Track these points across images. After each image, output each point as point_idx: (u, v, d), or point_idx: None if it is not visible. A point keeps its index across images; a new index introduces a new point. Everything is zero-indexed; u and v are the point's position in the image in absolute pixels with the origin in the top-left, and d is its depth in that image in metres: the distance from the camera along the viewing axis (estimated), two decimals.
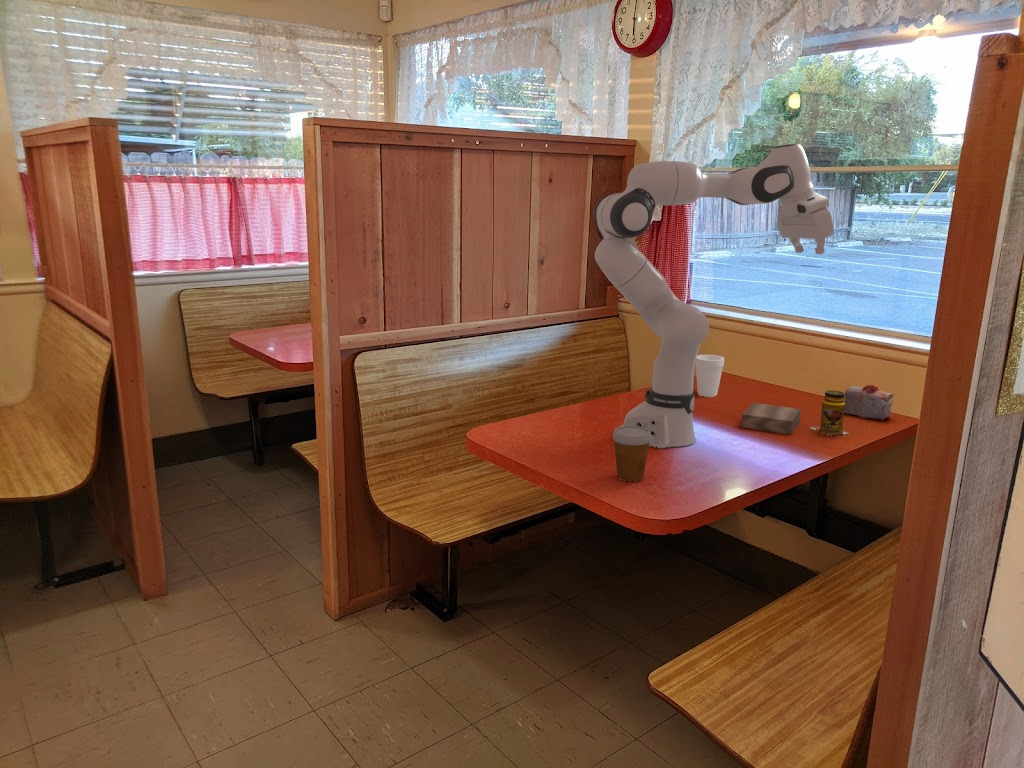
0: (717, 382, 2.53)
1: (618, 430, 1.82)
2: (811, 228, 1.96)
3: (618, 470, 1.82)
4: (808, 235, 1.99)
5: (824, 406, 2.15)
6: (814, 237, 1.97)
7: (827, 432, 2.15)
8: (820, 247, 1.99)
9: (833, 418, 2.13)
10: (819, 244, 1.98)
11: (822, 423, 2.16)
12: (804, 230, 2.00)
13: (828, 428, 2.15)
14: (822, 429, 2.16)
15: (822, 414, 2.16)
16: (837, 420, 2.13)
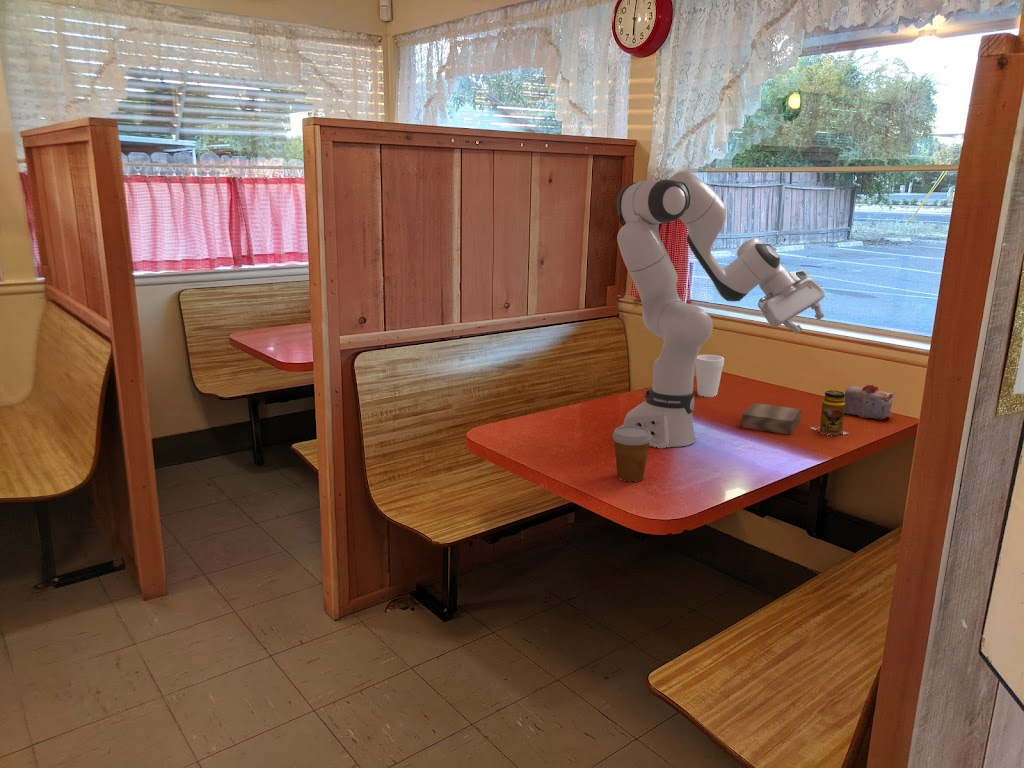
0: (717, 382, 2.53)
1: (618, 430, 1.82)
2: (811, 292, 2.16)
3: (618, 470, 1.82)
4: (810, 300, 2.14)
5: (824, 406, 2.15)
6: (817, 298, 2.15)
7: (827, 432, 2.15)
8: None
9: (833, 418, 2.13)
10: None
11: (822, 423, 2.16)
12: (805, 298, 2.14)
13: (828, 428, 2.15)
14: (822, 429, 2.16)
15: (822, 414, 2.16)
16: (837, 420, 2.13)
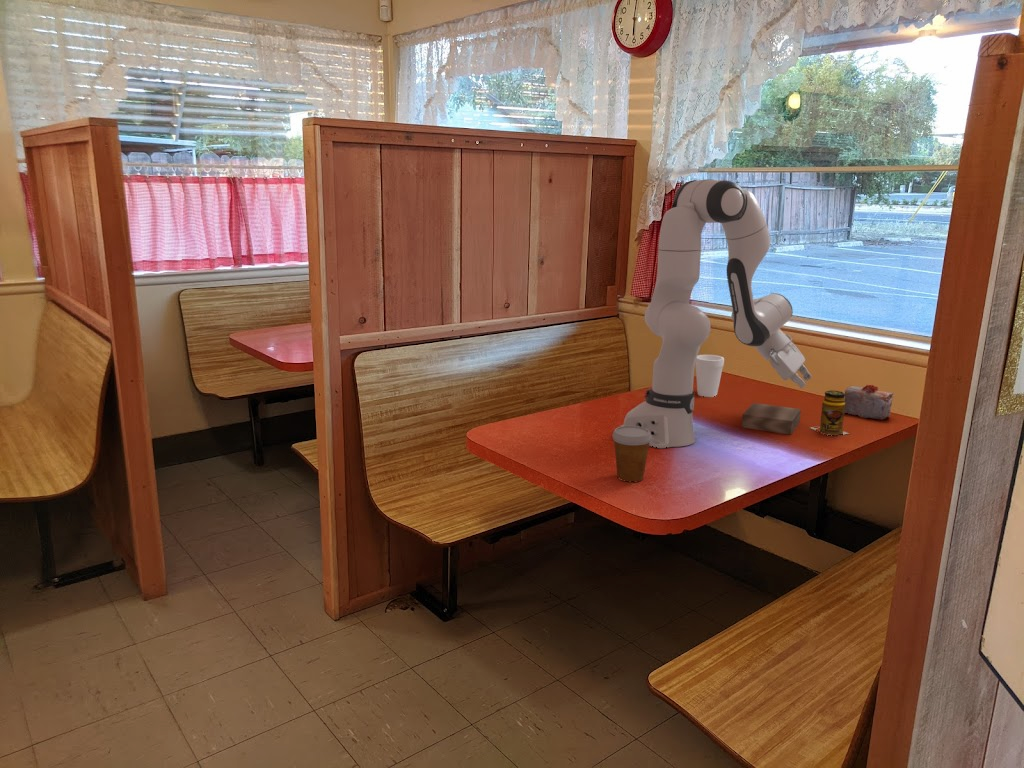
0: (717, 382, 2.53)
1: (618, 430, 1.82)
2: (797, 354, 2.24)
3: (618, 470, 1.82)
4: (801, 361, 2.22)
5: (824, 406, 2.15)
6: (803, 360, 2.24)
7: (827, 432, 2.15)
8: None
9: (834, 418, 2.13)
10: None
11: (822, 423, 2.16)
12: (797, 358, 2.21)
13: (828, 428, 2.15)
14: (822, 429, 2.16)
15: (822, 414, 2.16)
16: (837, 420, 2.13)
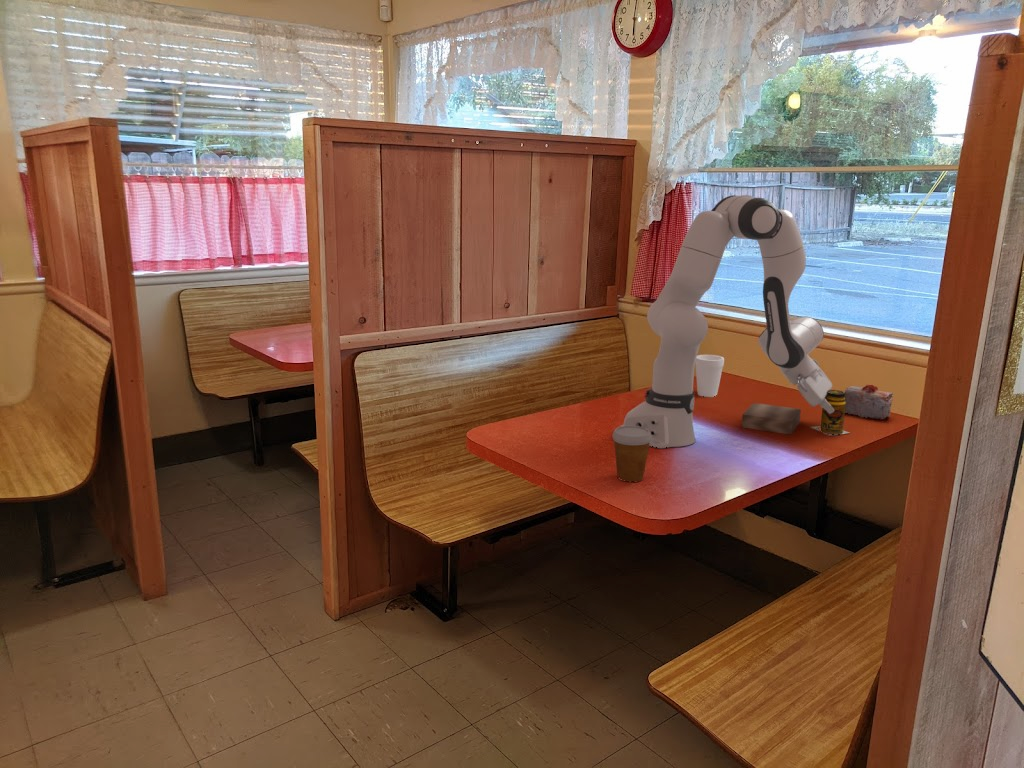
0: (717, 382, 2.53)
1: (618, 430, 1.82)
2: (824, 380, 2.22)
3: (618, 470, 1.82)
4: (828, 386, 2.19)
5: None
6: (830, 386, 2.21)
7: (828, 431, 2.15)
8: None
9: (834, 417, 2.14)
10: None
11: (823, 422, 2.16)
12: (824, 384, 2.19)
13: (829, 427, 2.15)
14: (823, 428, 2.17)
15: (823, 413, 2.16)
16: (838, 419, 2.14)
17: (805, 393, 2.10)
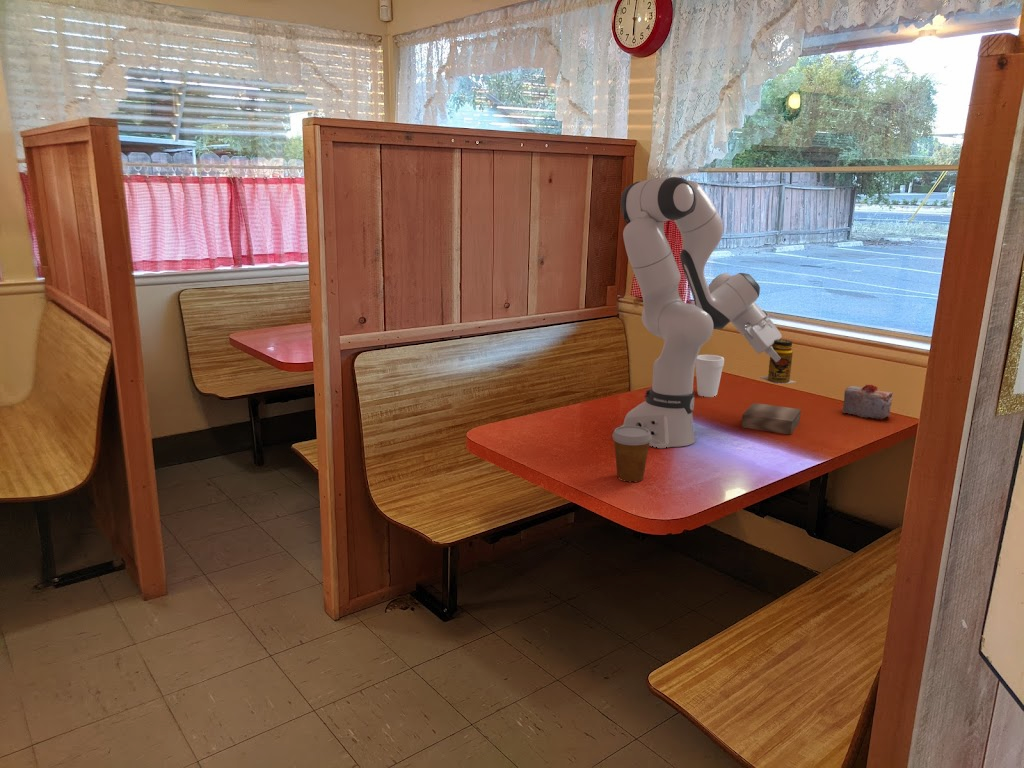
0: (717, 382, 2.53)
1: (618, 430, 1.82)
2: (774, 330, 2.24)
3: (618, 470, 1.82)
4: (776, 336, 2.21)
5: None
6: (779, 337, 2.23)
7: (775, 380, 2.18)
8: None
9: (781, 365, 2.16)
10: None
11: (770, 371, 2.19)
12: (772, 334, 2.21)
13: (775, 376, 2.17)
14: (770, 377, 2.19)
15: (770, 362, 2.18)
16: (784, 368, 2.16)
17: (751, 340, 2.12)
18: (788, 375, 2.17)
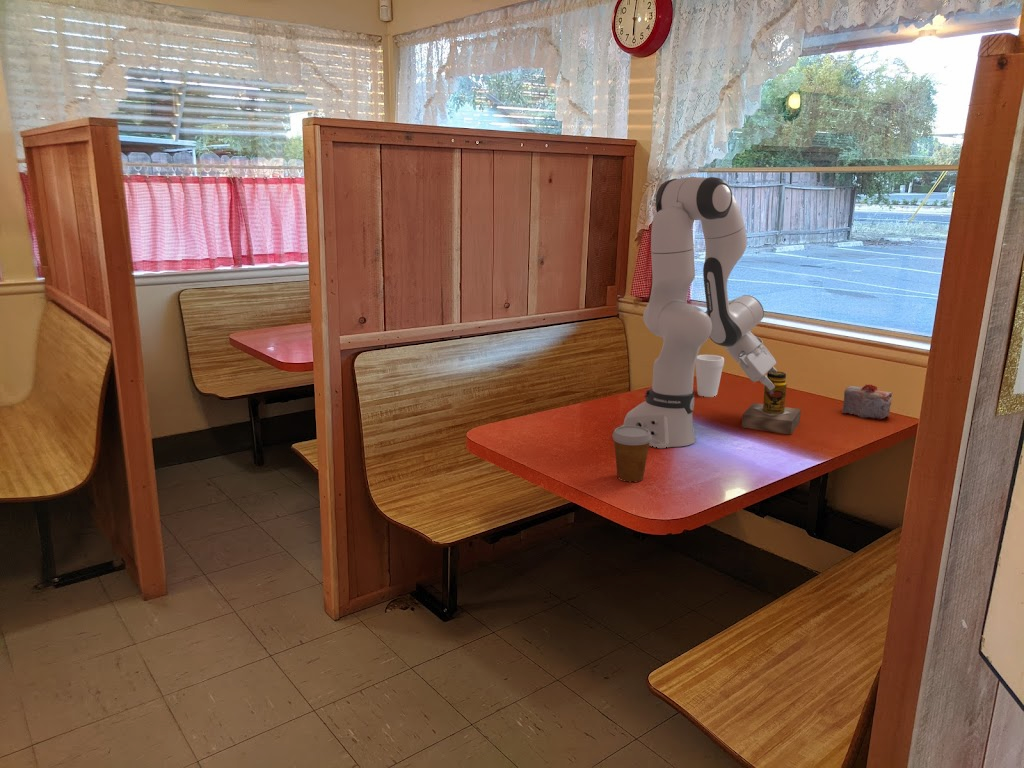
0: (717, 382, 2.53)
1: (618, 430, 1.82)
2: (768, 357, 2.26)
3: (618, 470, 1.82)
4: (771, 363, 2.24)
5: (766, 386, 2.20)
6: (774, 363, 2.26)
7: (769, 412, 2.21)
8: None
9: (775, 397, 2.19)
10: None
11: (765, 403, 2.22)
12: (767, 361, 2.23)
13: (770, 408, 2.20)
14: (765, 409, 2.22)
15: (765, 394, 2.22)
16: (778, 400, 2.19)
17: (746, 369, 2.15)
18: (782, 406, 2.20)
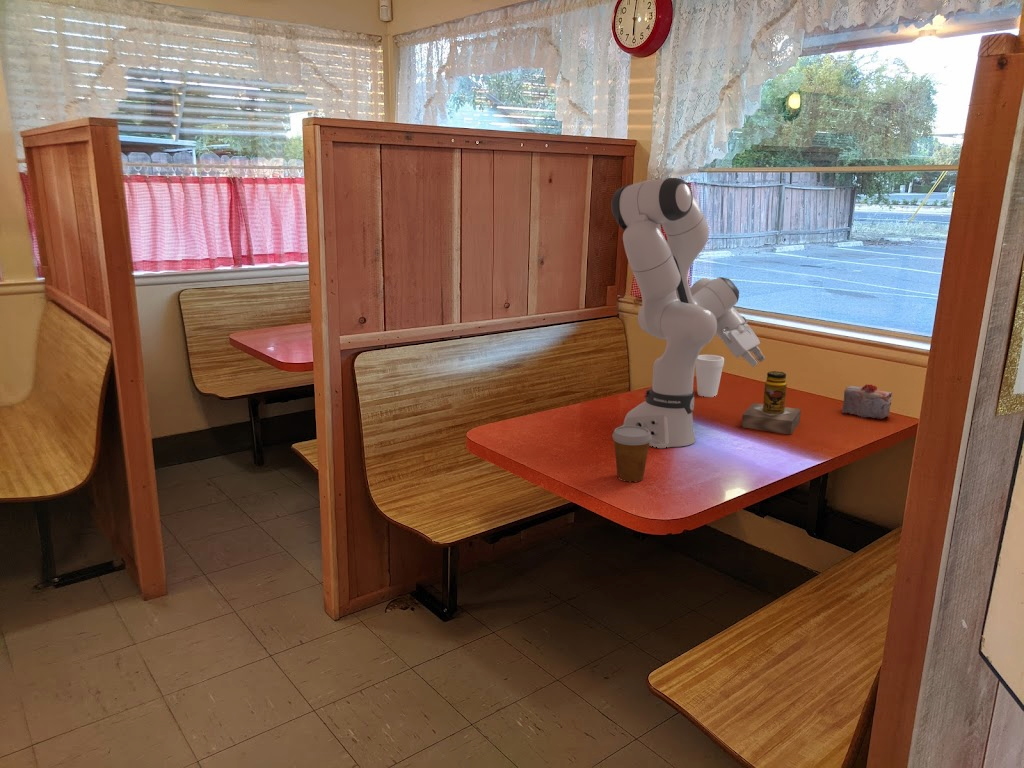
0: (717, 382, 2.53)
1: (618, 430, 1.82)
2: (752, 336, 2.26)
3: (618, 470, 1.82)
4: (755, 342, 2.24)
5: (766, 386, 2.20)
6: (757, 342, 2.26)
7: (769, 412, 2.21)
8: None
9: (775, 397, 2.19)
10: None
11: (765, 403, 2.22)
12: (751, 339, 2.23)
13: (770, 408, 2.20)
14: (765, 409, 2.22)
15: (765, 394, 2.22)
16: (778, 400, 2.19)
17: (729, 344, 2.14)
18: (782, 406, 2.20)
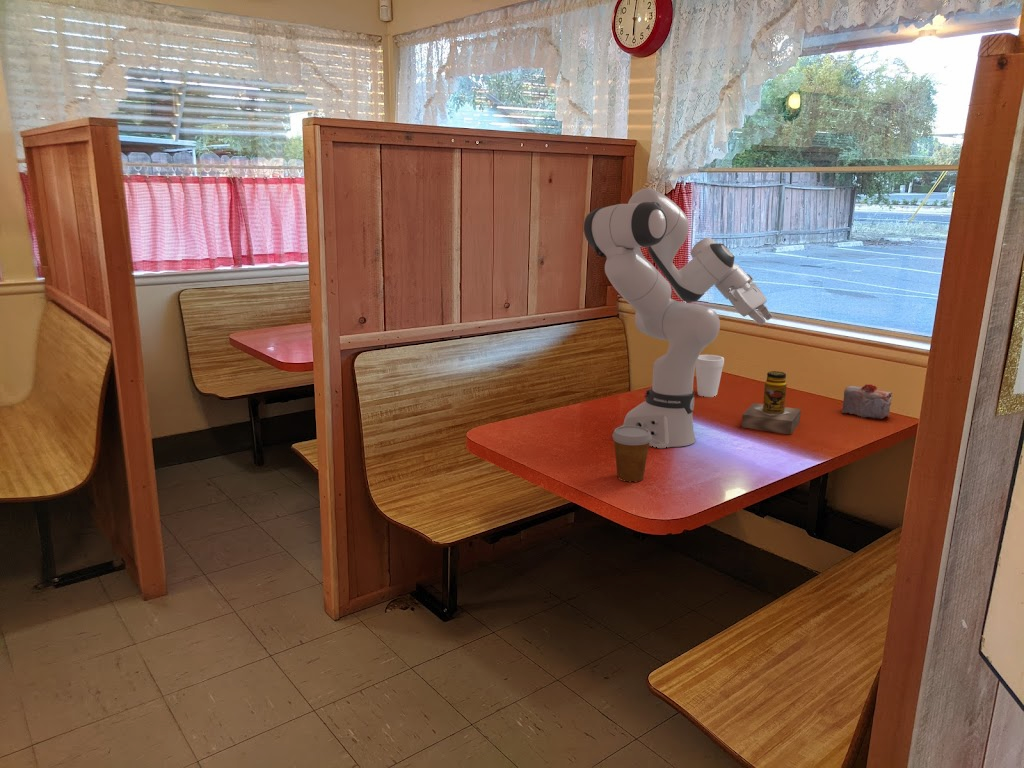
0: (717, 382, 2.53)
1: (618, 430, 1.82)
2: (758, 294, 2.22)
3: (618, 470, 1.82)
4: (761, 300, 2.20)
5: (766, 386, 2.20)
6: (764, 300, 2.22)
7: (769, 412, 2.21)
8: None
9: (775, 397, 2.19)
10: None
11: (765, 403, 2.22)
12: (757, 297, 2.19)
13: (770, 408, 2.20)
14: (765, 409, 2.22)
15: (765, 394, 2.22)
16: (778, 400, 2.19)
17: (735, 303, 2.10)
18: (782, 406, 2.20)
